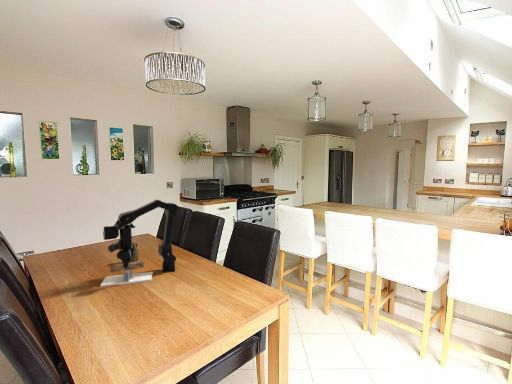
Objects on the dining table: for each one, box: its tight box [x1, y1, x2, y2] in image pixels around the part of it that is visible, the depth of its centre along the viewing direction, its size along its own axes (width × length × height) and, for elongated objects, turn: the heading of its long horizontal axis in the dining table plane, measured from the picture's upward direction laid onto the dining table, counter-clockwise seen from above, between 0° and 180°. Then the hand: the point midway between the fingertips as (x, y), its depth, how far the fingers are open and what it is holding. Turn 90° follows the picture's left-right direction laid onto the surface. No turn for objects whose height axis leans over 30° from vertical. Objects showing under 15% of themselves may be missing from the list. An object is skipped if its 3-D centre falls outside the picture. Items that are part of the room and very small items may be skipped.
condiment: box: [130, 242, 140, 262], centre depth 174 cm, size 7×8×12 cm
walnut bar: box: [109, 260, 145, 273], centre depth 147 cm, size 16×3×3 cm, turn 112°
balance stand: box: [99, 269, 154, 288], centre depth 148 cm, size 24×11×6 cm, turn 106°
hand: (127, 265), depth 147 cm, fingers open, 9 cm apart
